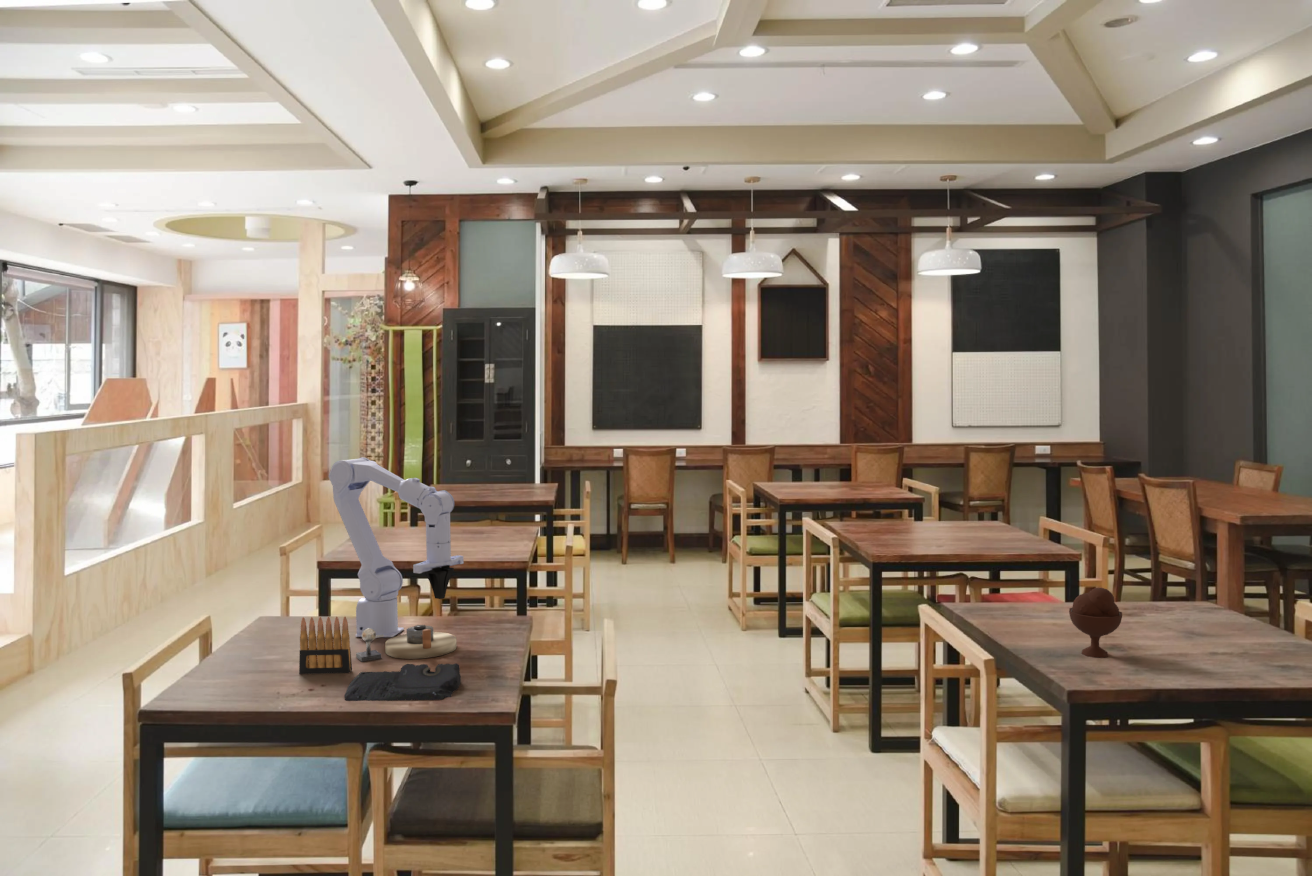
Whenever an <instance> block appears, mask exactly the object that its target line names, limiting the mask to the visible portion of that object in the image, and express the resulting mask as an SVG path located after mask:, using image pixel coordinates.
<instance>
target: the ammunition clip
mask: <svg viewBox="0 0 1312 876" xmlns="http://www.w3.org/2000/svg"><path fill="white" fill-rule="evenodd" d="M305 618H306V617H304V616H303V617H302V618H301V621H300V633H299V634H300V636H299V648H300V649H299V662H298V663H299V666H298V668H299V669H298V671H299V672H298V674H299V675H309V674H312V675H313V674H314V675H315V674H316V675H319V674H322V675H323V674H350V673H351V672H352V671H353V663H352V652H351V651H352V650H351V646H350V643H351V641H350V637H351V636H350V632H349V624H348V623H349V622H348V618H347V617H346V616H344V617H343V619H342V626H341V625H340V624H341V623H340V620H339V618H338V616H335V619H334V623H333V627H332V621H331V618H330V616H327V618H326V621H325V628H324V622H323V618H322V617H321V616H319V617H318V621H317V631H316V625H315V620H314V617H312V616H311V617H310V618H309V624H308V626H307V621H306V619H305ZM307 627H308V629H307ZM332 628H333V629H332ZM341 628H342V630H341ZM324 629H325V630H324ZM316 632H317V634H316Z"/></svg>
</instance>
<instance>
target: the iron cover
mask: <svg viewBox="0 0 1312 876" xmlns="http://www.w3.org/2000/svg"><path fill="white" fill-rule="evenodd" d="M424 629H431V642H432V641H433V640H434V637H433V632H434V627H433V626H431V625H425V624H417V625H414V626H410V627H408V628H406V634H407V643H410V644H423V630H424Z"/></svg>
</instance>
